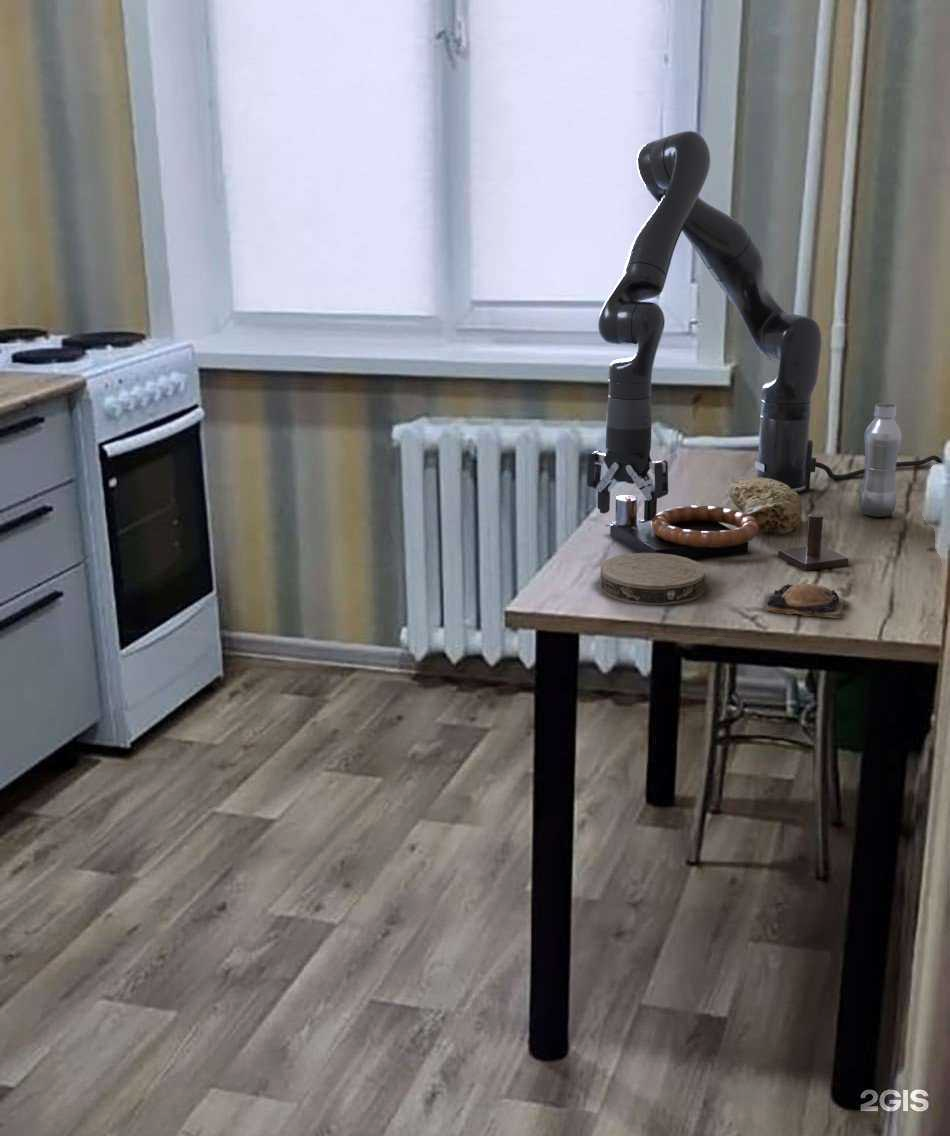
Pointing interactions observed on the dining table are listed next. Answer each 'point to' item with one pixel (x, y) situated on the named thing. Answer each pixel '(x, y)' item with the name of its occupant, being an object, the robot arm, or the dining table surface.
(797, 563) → the peg
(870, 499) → the plastic bottle
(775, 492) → the sponge
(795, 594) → the bread roll
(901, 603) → the dining table surface
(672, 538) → the brown segmented ring
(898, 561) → the dining table surface
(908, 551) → the dining table surface
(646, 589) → the tan disc
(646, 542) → the hob
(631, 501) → the hob knob
